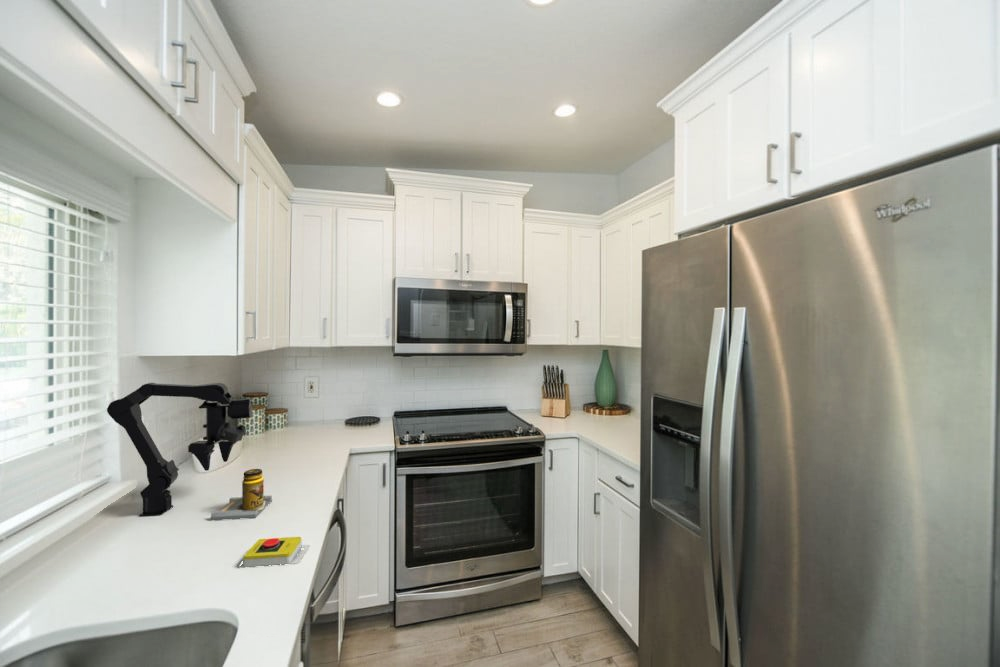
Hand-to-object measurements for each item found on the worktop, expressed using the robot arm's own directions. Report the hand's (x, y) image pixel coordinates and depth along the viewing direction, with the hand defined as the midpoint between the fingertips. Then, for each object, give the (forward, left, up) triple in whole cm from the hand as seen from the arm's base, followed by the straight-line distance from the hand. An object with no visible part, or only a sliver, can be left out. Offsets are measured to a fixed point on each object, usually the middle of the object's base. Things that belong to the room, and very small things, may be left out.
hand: (216, 465), depth 141 cm
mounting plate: (+12, -7, -13) cm, 19 cm away
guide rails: (+12, -7, -12) cm, 18 cm away
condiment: (+14, -7, -12) cm, 20 cm away
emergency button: (+33, -38, -14) cm, 52 cm away
